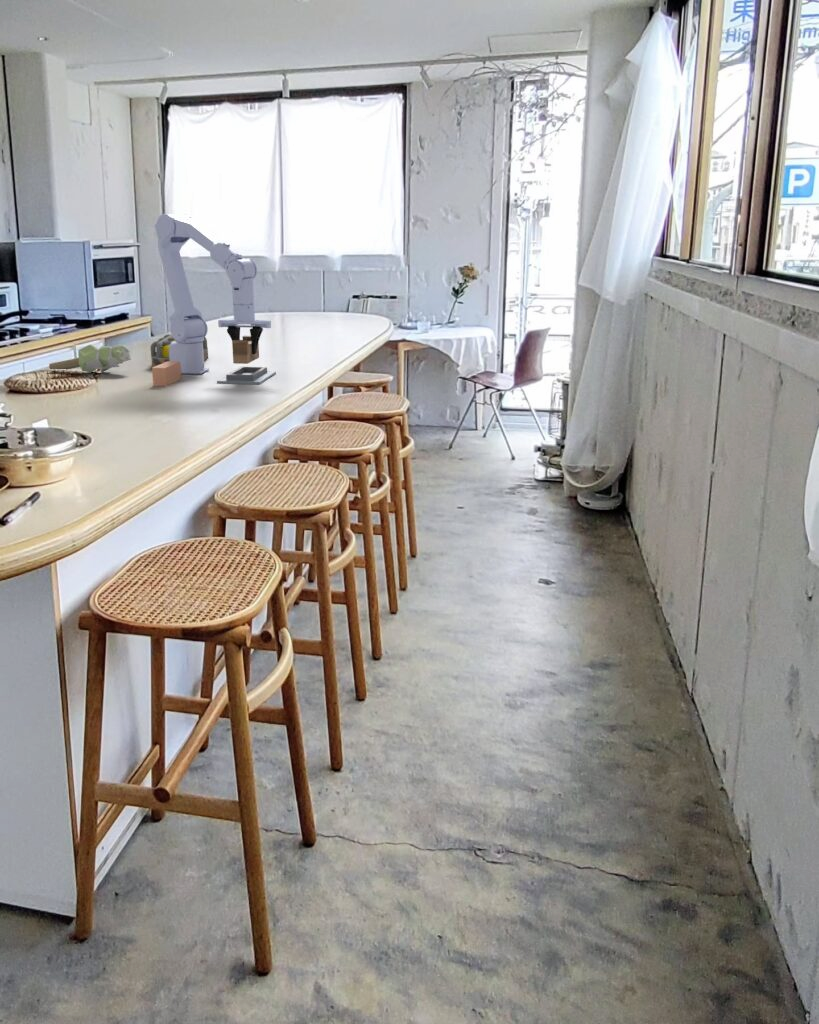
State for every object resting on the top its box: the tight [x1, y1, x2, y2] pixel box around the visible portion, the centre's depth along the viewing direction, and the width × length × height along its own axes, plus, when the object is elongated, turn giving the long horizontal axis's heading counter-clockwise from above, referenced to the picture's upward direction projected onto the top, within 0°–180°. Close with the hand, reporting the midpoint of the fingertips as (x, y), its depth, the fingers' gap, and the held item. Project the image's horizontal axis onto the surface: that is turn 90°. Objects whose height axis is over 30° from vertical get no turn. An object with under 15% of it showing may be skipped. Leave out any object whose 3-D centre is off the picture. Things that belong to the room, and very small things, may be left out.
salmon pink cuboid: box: [151, 361, 183, 387], centre depth 231 cm, size 12×4×5 cm, turn 175°
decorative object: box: [48, 344, 132, 374], centre depth 244 cm, size 9×10×25 cm
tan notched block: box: [231, 335, 260, 365], centre depth 236 cm, size 12×4×6 cm, turn 175°
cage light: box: [150, 333, 209, 368], centre depth 264 cm, size 15×8×30 cm
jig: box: [216, 366, 277, 385], centre depth 238 cm, size 12×18×2 cm, turn 175°
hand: (246, 353), depth 236 cm, fingers closed on tan notched block, 4 cm apart
